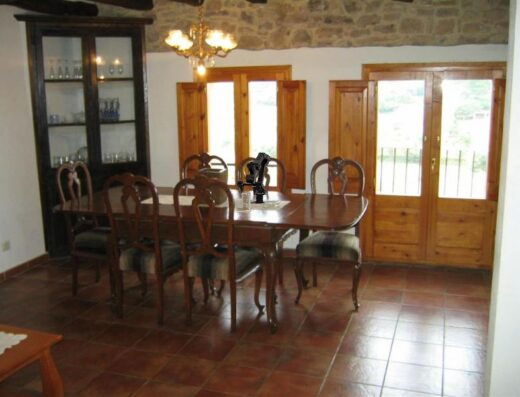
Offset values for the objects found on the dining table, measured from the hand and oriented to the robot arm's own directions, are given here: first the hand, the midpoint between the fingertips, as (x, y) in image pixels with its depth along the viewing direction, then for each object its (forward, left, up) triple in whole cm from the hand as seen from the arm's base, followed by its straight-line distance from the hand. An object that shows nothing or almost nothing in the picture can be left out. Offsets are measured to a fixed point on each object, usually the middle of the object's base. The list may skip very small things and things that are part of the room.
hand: (247, 194), depth 396 cm
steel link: (+3, -2, -10) cm, 11 cm away
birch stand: (+7, -4, -11) cm, 14 cm away
